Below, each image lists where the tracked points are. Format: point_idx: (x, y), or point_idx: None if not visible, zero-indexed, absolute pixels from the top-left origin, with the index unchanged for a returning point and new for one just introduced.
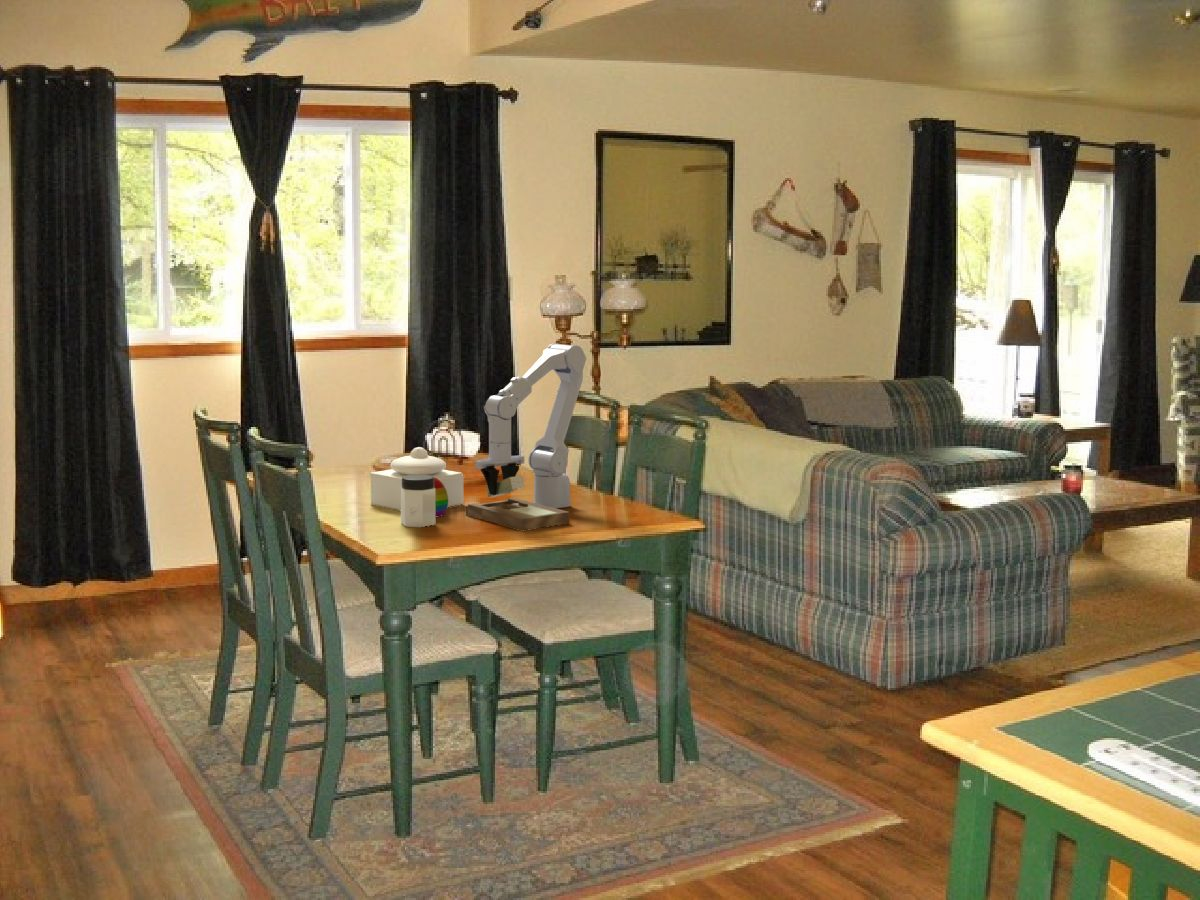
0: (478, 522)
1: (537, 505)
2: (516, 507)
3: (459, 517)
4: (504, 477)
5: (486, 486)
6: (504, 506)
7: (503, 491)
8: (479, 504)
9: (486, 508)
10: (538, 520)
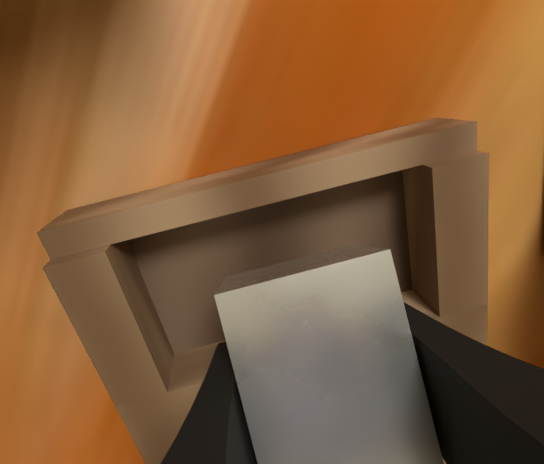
0: (96, 401)
1: None
2: None
3: (8, 261)
4: (463, 409)
5: (216, 303)
6: None
7: None
8: (164, 216)
9: (143, 420)
10: None
